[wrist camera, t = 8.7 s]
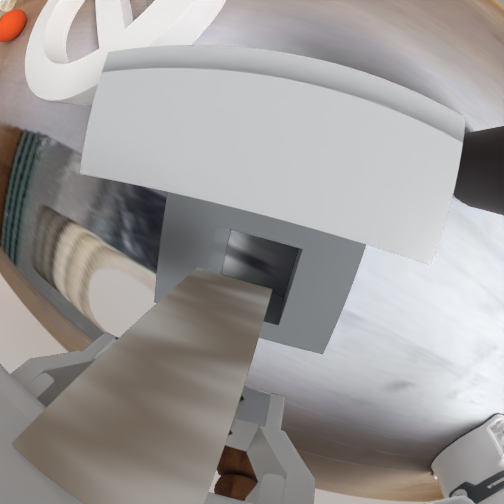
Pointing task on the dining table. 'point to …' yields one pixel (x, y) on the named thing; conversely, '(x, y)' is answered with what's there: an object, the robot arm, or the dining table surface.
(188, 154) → the socket block
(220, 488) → the wooden figurine
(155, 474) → the peg
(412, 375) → the dining table surface
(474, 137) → the bottle
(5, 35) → the clementine
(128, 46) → the ring with crossbar
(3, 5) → the coffeecake box
